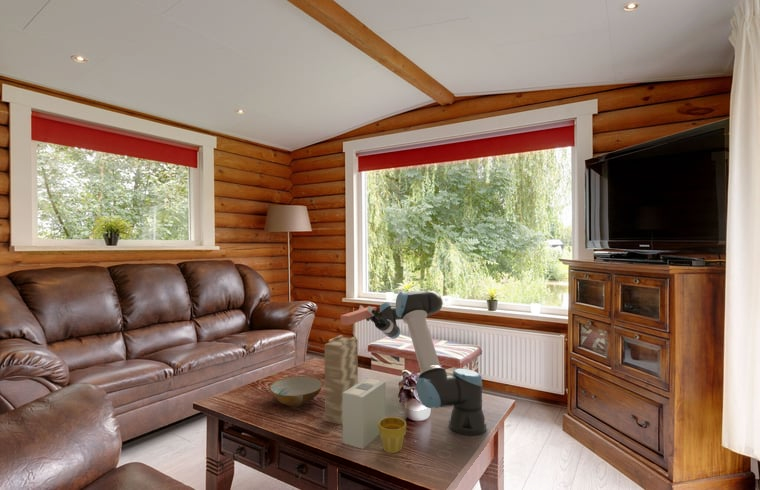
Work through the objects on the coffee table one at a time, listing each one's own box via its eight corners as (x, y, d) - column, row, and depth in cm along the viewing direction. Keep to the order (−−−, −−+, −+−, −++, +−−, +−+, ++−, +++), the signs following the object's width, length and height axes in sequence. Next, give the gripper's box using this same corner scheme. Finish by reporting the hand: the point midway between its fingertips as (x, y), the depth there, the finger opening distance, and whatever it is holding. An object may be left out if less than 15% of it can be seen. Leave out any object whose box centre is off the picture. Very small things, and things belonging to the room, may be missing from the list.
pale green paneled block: (366, 423, 170) (366, 377, 170) (385, 428, 166) (385, 381, 165) (342, 443, 154) (342, 392, 154) (362, 448, 150) (362, 396, 150)
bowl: (329, 406, 187) (329, 389, 187) (275, 417, 177) (275, 399, 176) (314, 388, 210) (314, 373, 210) (265, 396, 199) (265, 380, 199)
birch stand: (342, 407, 187) (342, 334, 186) (359, 411, 183) (359, 336, 182) (323, 420, 174) (322, 341, 173) (340, 424, 169) (340, 344, 169)
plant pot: (403, 458, 144) (402, 431, 144) (375, 453, 147) (375, 427, 147) (408, 443, 154) (408, 418, 154) (382, 440, 157) (382, 415, 156)
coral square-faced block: (369, 314, 203) (369, 306, 203) (376, 315, 201) (376, 307, 201) (340, 324, 180) (340, 315, 180) (348, 325, 178) (348, 316, 178)
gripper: (396, 332, 207) (377, 317, 189) (368, 329, 215) (347, 313, 197) (399, 318, 210) (381, 302, 192) (371, 315, 218) (351, 299, 200)
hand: (364, 308), depth 194 cm, fingers closed on coral square-faced block, 4 cm apart
